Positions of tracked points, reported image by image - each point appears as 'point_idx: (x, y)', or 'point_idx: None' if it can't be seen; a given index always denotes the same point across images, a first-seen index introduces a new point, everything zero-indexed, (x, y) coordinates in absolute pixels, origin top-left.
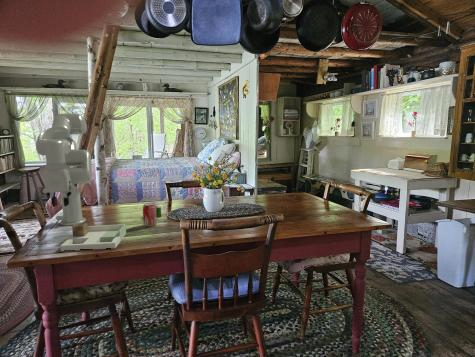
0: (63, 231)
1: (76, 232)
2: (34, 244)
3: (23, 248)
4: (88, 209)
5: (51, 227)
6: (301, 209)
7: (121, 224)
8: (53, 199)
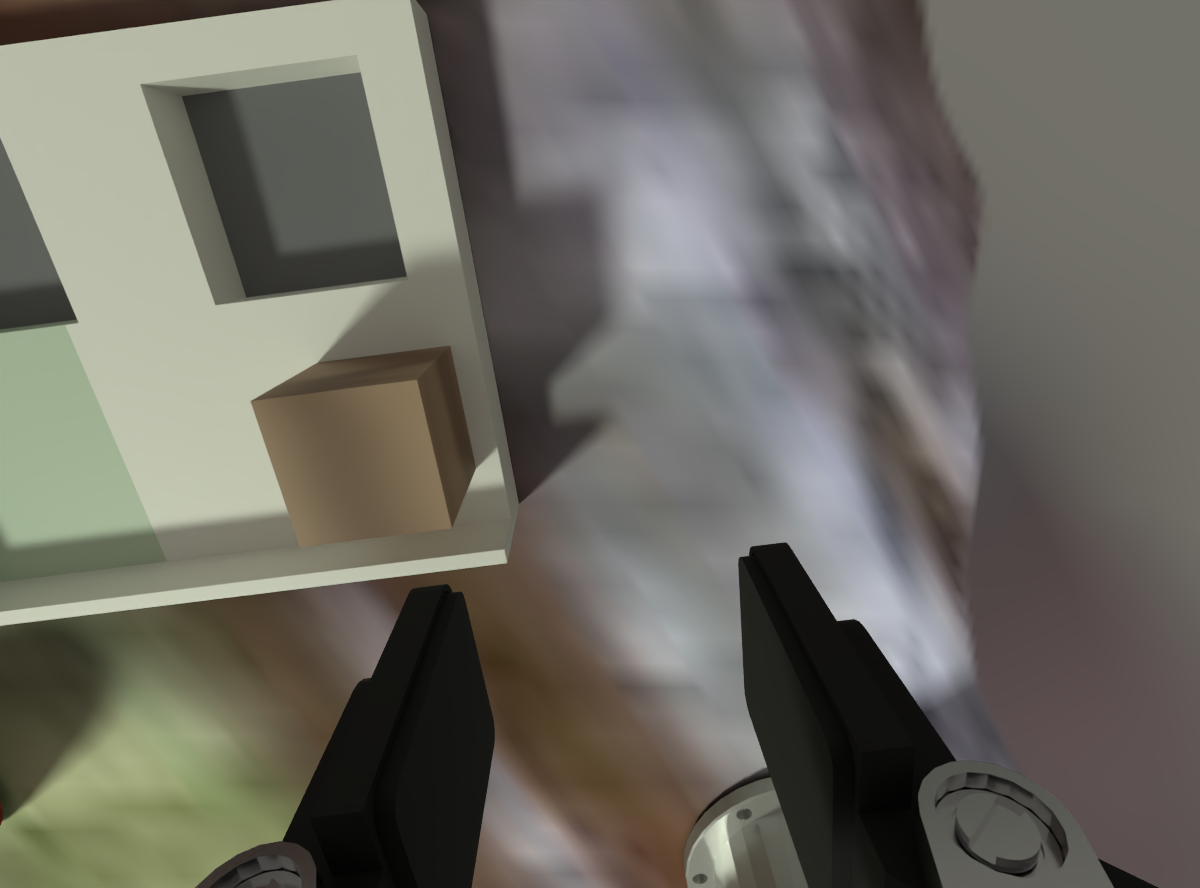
0: None
1: (389, 365)
2: (879, 267)
3: (946, 138)
4: None
5: (938, 733)
6: None
7: None
8: (834, 722)
